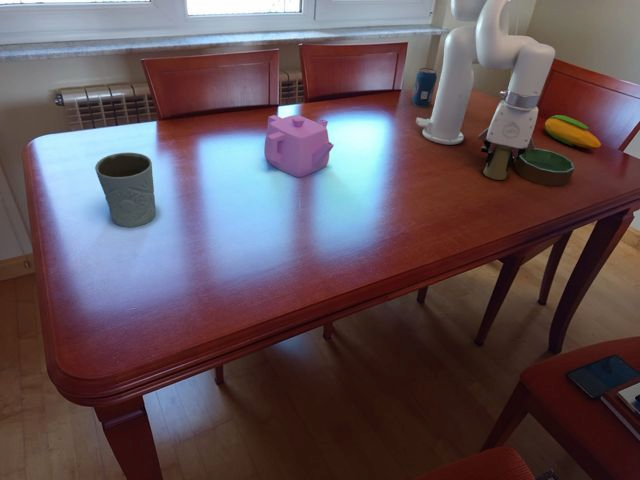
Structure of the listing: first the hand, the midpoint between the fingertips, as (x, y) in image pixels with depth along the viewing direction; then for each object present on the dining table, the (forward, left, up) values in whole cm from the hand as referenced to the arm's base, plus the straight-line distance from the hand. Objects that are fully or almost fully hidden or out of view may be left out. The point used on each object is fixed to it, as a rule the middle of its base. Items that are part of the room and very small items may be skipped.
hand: (497, 166), depth 116 cm
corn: (+21, +36, -3) cm, 42 cm away
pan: (+7, +8, -3) cm, 11 cm away
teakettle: (-49, -20, -3) cm, 53 cm away
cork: (0, 0, -2) cm, 2 cm away
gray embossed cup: (-69, -59, -3) cm, 91 cm away
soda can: (-29, +45, -3) cm, 54 cm away
